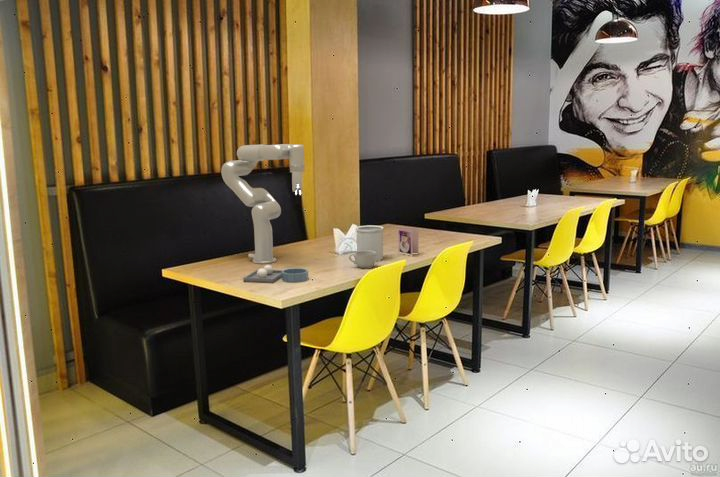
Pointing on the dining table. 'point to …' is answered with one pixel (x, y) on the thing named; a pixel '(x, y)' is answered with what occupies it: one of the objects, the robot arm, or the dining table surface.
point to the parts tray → (268, 279)
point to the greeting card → (408, 240)
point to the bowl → (295, 275)
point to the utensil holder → (370, 239)
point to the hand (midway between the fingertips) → (298, 202)
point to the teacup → (364, 258)
